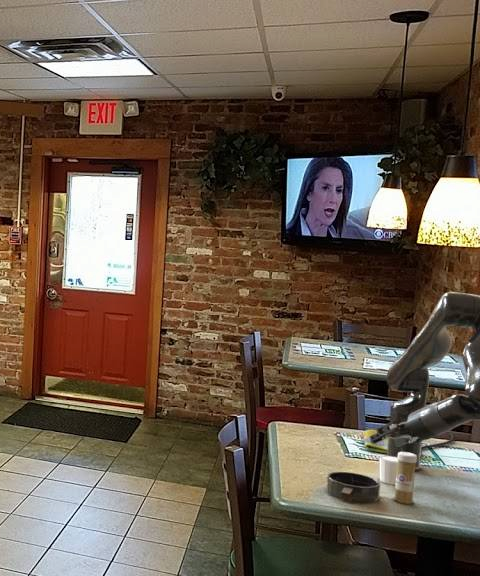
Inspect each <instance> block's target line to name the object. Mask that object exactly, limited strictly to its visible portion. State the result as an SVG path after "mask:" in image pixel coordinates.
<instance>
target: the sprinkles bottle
mask: <svg viewBox="0 0 480 576" xmlns="http://www.w3.org/2000/svg"><path fill="white" fill-rule="evenodd" d="M397 459H398V467H397V476H396V485H394V487H395V490H394V497H393V499H394V501H396V502H397V503H400V504H407V505H410V504H412V503H413V502H414V500H413V498H414V489H415V476H416V470H415V464H416V462H417V456H416V455H415V454H412V453H408V452H399V453H398V458H397Z"/></svg>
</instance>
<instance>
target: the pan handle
mask: <svg viewBox="0 0 480 576" xmlns="http://www.w3.org/2000/svg"><path fill="white" fill-rule="evenodd" d="M340 500H342V502H345V503H351V504H352V503H354V502H353V488H349V487H344V489H343V490H342V491H341V499H340Z"/></svg>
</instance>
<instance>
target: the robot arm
mask: <svg viewBox="0 0 480 576" xmlns="http://www.w3.org/2000/svg"><path fill="white" fill-rule="evenodd" d="M446 327H456V328H463V329H472V330H473V332H474V333H473V335H472V336H471V337H470V338H469V340H468V341H467V342H466V344H465V345H464V347H463V349H462V352H461V353H462V362H463V366H464V368H465V372H466V375H465V377H466V378H465V384H464V392H465V394H462V393H456V394H452V395H451V396H448V397H446V398H444V399H442V400H439V401H436V402H433V403H430V404H428V405H427V399H428V398H427V397H428V390H429V384H430V372H429V368H430V367H433V366H435V365H438V364H439V363H441V361H442V360H444V358H445V357H446V356H447V355H448V354H449V352H450V351H451V350H452V349H451V348H452V346H453V341H452V338H451V335H450V332H449V331H448V330H447V328H446ZM386 383H387V386H388V388H389V389H390V390H392V391H395V392H401V393H410V394H409V395H408V396H406V397H404V398H402V399H399V400H395V401H392V402H391V404H390V412H389V422H387V423H386V424H383V425H381V426H379V427H376V428H375V430H377V433H376V434H373V435H371V436H370V440H371V443H373V444H376V443H378V442H380V441H382V440H385V439H388V448H387V453H386V455H385V456H394V457H398V453H399V452H408V453H412V454H415V455H416V456H417V462H416V464H415V471H418V470H420V469H421V465H420V464H421V455H422V450H424V449H430V448H436V447H440V446H446V445H448V444H451V443H452V442H453V441H454V440H455V434H454V433H453V432H452V430H453V429H455V428H457V427H459V426H461V425H464V424H466V423H468V422H471V421H479V420H480V295H478V294H474V293H466V292H465V293H464V292H455V291H448V292H445V293H444V294H442V295H441V297H440V298H439V299H438V301H437V303H436V304H435V306H434V308H433V310H432V312H431V314H430V316H429V317H428V319H427V320H426V322H425V323H424V325H423V326H422V328H421V329H420V330H419V332H418V333H417V334H416V335H415V337H413V339H412V341H411V342H410V344H409V346H408V347H407V348H406V349H405V351H403V353H402V354H400V356H399V357H398V358H397V359H395V360H394V361H393V363H391V364H390V366H389V368H388V370H387V373H386ZM450 431H451V432H450ZM447 432H450V433H449V436H450V437H451V438H450V439H449V440H447V441H443V442H438V443H434V444H428V445H423V446H422V442H423V441H427V440H428V441H429V440H430V439H433V438H435V437H437V436H440V435H443V434H445V433H447Z"/></svg>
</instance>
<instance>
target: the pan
mask: <svg viewBox="0 0 480 576" xmlns="http://www.w3.org/2000/svg"><path fill="white" fill-rule="evenodd" d="M344 487H349V488H353V502H352V503H361V504H369V503H375V502H377V501H378V500H379V499H380V494H381V482H380V480H377V479H375V478H374V477H371V476H368V475H365V474H361V473H356V472H350V471H332V472H329V473H328V474H327V476H326V487H325V488H326V491H327V492H328V493H329V494H330V495H331V496H333V497H334V498H337V499H340V500H342V499H341V491H342V490H343V489H344Z"/></svg>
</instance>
